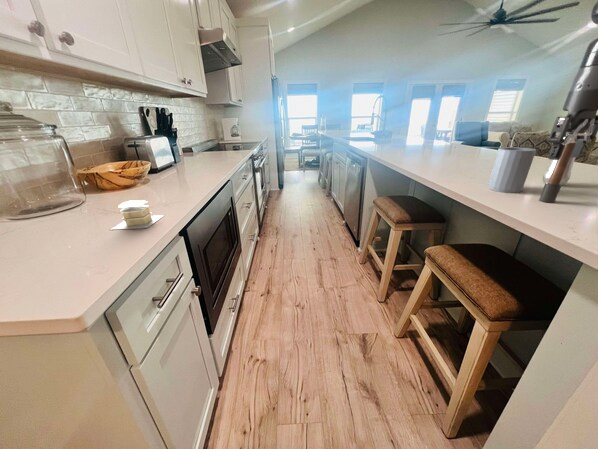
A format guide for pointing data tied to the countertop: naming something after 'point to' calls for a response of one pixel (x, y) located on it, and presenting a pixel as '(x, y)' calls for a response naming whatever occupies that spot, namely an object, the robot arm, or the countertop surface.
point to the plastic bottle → (566, 174)
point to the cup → (511, 169)
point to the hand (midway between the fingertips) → (563, 158)
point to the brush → (557, 175)
